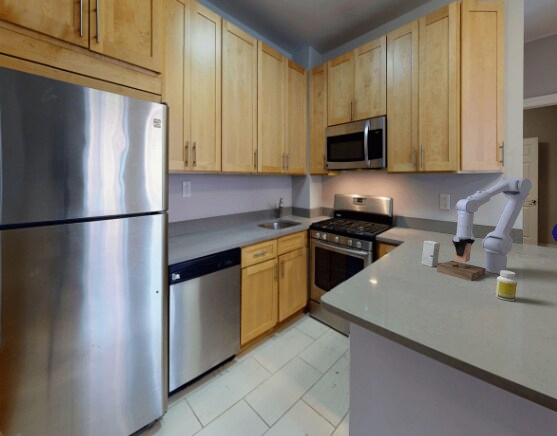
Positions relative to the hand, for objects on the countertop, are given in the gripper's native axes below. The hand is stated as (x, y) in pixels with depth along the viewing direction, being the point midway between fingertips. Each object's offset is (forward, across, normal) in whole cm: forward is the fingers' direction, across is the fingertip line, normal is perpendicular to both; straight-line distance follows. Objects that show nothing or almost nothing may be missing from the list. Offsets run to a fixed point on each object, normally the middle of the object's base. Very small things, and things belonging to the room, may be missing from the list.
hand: (462, 255), depth 118 cm
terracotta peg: (+2, 0, 0) cm, 2 cm away
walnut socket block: (+8, 0, 0) cm, 8 cm away
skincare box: (+9, 0, +14) cm, 17 cm away
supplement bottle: (+9, -16, -21) cm, 28 cm away
